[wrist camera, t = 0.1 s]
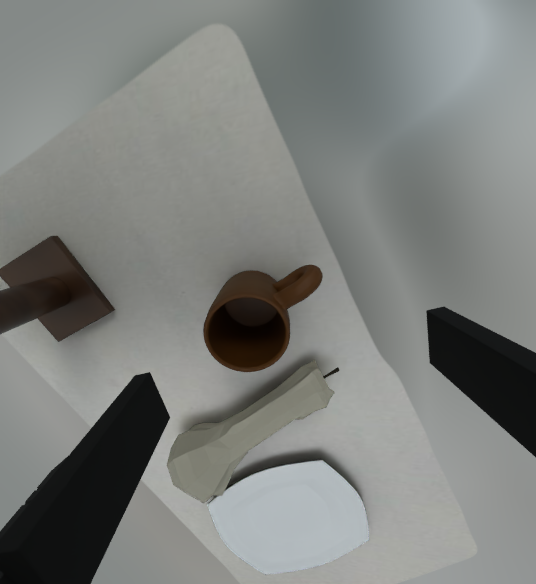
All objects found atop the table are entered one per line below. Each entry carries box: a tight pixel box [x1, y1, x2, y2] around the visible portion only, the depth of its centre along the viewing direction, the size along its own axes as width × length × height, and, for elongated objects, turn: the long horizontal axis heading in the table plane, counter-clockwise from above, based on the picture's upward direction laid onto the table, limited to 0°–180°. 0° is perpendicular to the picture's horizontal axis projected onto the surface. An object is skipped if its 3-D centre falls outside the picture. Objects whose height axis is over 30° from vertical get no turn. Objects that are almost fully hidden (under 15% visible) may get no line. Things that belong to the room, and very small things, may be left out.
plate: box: [207, 459, 369, 575], centre depth 39 cm, size 23×23×2 cm
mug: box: [203, 265, 322, 372], centre depth 25 cm, size 12×8×9 cm, turn 129°
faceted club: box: [167, 360, 339, 503], centre depth 31 cm, size 9×8×25 cm
